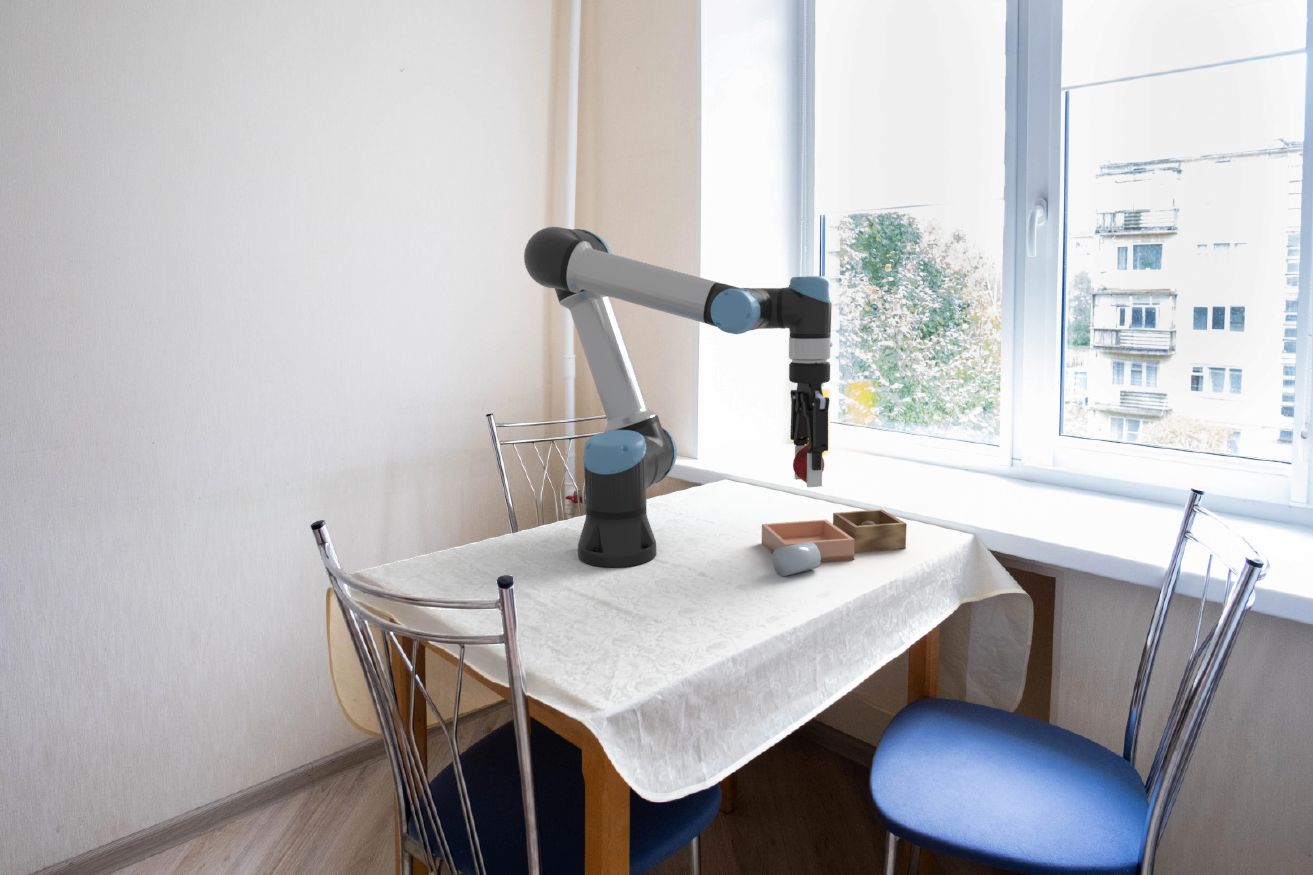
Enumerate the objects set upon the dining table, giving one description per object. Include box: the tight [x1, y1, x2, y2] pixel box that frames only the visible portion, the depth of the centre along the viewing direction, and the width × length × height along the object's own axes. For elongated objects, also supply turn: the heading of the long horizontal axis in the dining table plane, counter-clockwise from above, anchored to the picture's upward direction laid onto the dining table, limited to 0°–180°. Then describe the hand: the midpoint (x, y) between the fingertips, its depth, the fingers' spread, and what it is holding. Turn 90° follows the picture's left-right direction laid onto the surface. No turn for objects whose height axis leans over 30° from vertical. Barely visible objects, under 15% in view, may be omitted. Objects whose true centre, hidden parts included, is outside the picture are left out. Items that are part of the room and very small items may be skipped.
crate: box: [832, 508, 908, 553], centre depth 163 cm, size 11×11×5 cm
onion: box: [792, 443, 825, 484], centre depth 155 cm, size 6×6×8 cm
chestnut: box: [860, 521, 876, 526], centre depth 163 cm, size 4×4×4 cm
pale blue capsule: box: [771, 541, 821, 577], centre depth 147 cm, size 7×5×5 cm
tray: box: [761, 519, 855, 564], centre depth 158 cm, size 14×14×4 cm
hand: (807, 482), depth 156 cm, fingers closed on onion, 6 cm apart
